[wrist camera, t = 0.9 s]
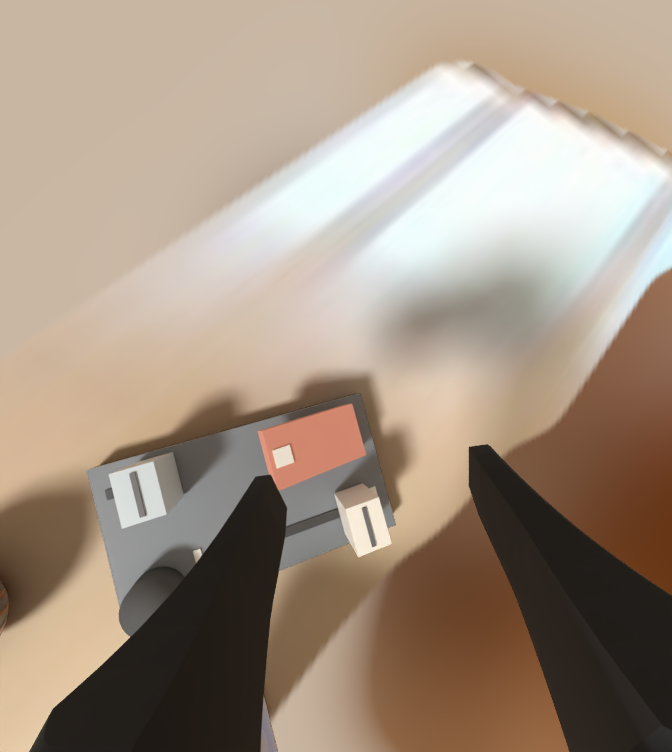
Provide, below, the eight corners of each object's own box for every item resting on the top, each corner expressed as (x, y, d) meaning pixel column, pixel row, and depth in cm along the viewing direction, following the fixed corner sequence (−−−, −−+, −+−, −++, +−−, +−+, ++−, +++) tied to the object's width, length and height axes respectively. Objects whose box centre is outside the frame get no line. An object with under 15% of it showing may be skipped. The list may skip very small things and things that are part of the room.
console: (389, 518, 27) (400, 529, 24) (135, 616, 22) (119, 641, 20) (355, 393, 27) (363, 392, 25) (98, 465, 23) (78, 472, 20)
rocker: (356, 453, 25) (366, 455, 23) (272, 487, 21) (278, 491, 20) (343, 404, 25) (352, 403, 23) (257, 430, 22) (262, 431, 20)
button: (193, 609, 22) (187, 625, 20) (137, 631, 21) (126, 650, 19) (180, 558, 22) (173, 570, 20) (124, 579, 21) (112, 592, 19)
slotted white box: (184, 495, 22) (166, 514, 18) (147, 507, 22) (121, 529, 18) (172, 451, 22) (152, 461, 18) (136, 462, 22) (107, 474, 18)
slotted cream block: (373, 522, 25) (392, 544, 21) (344, 533, 24) (358, 558, 20) (362, 483, 25) (379, 497, 21) (334, 493, 24) (345, 509, 20)
